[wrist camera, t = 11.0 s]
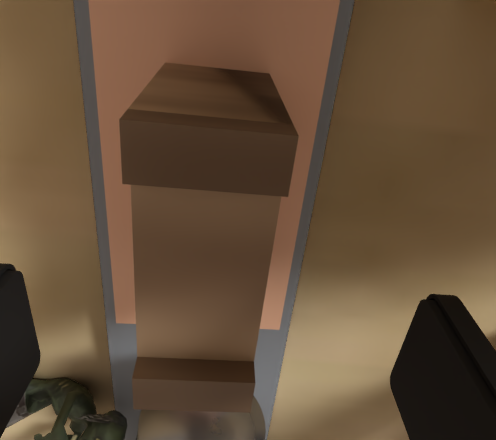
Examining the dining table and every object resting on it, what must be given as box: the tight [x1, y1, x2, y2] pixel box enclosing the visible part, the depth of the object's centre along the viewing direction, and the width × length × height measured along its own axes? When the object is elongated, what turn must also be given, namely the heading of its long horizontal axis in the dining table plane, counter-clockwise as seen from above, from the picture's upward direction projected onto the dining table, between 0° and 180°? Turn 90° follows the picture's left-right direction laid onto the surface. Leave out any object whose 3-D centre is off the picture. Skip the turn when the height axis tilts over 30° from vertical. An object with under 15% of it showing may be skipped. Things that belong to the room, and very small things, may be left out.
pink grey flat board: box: [73, 0, 355, 440], centre depth 17 cm, size 9×44×1 cm, turn 174°
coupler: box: [119, 62, 299, 413], centre depth 13 cm, size 9×4×7 cm, turn 174°
